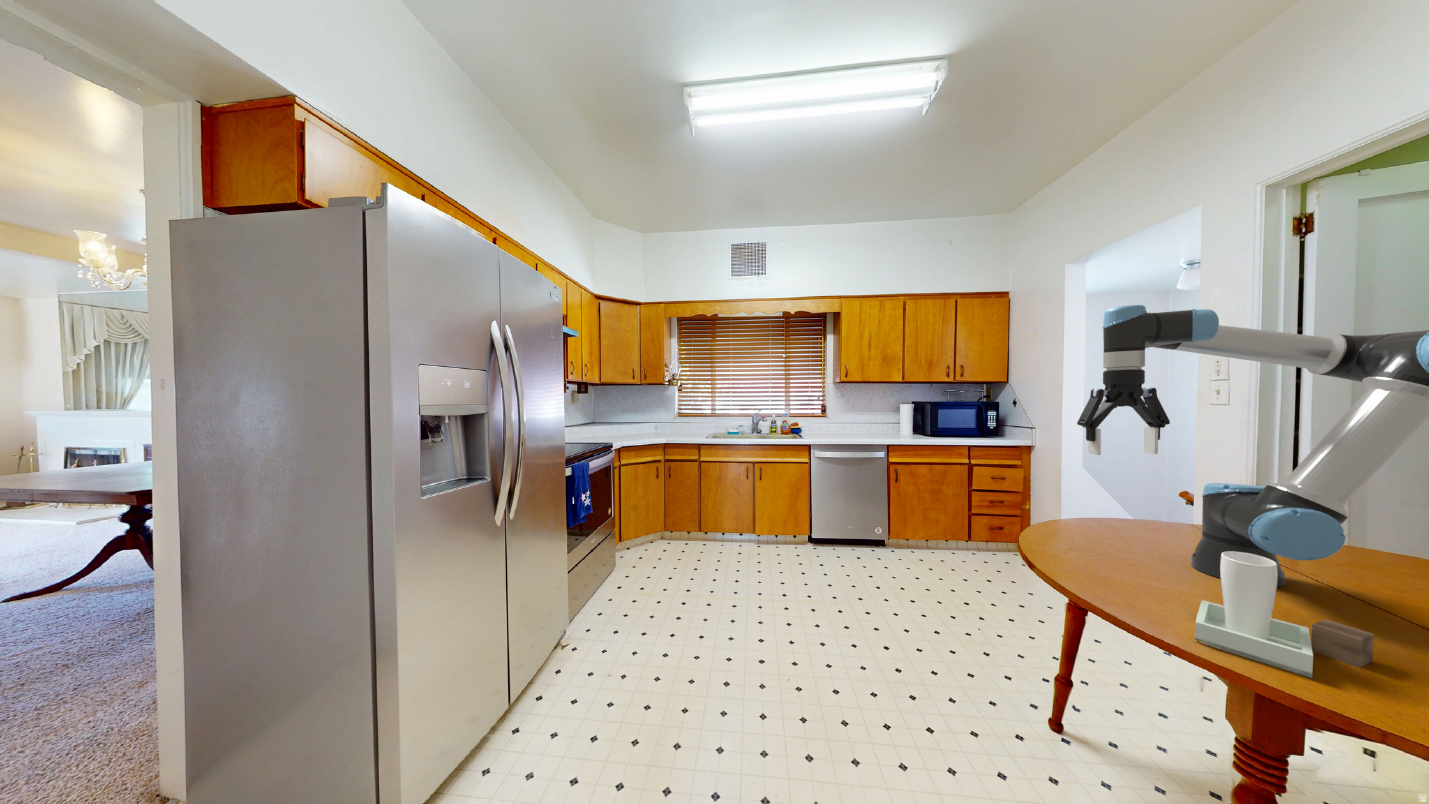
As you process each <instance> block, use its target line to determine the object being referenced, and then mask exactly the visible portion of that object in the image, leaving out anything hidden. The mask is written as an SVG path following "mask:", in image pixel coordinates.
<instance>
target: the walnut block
mask: <svg viewBox="0 0 1429 804" xmlns="http://www.w3.org/2000/svg"><path fill="white" fill-rule="evenodd" d="M1374 636H1375V634H1374V633H1371V632H1368V631H1366V630H1362V629H1358V628H1356V627H1352V626H1349V625H1346V624H1342V623H1340V622H1336V621H1333V620H1329V619H1326V618H1325V619H1322V620H1320V621H1317V622H1315V623H1312V624H1311V646H1312V652H1313V653H1317V654H1319V655H1323V656H1325V657H1328V658H1331V659H1333V660H1335V661H1336V660H1337V661H1339V662H1342V663H1345V664H1347V665H1351V666H1352V667H1353V666H1354V667H1357V668H1359V669H1360V668H1361V667H1364V666H1366V665H1368V664H1370V663H1372V662H1373V658H1374Z"/></svg>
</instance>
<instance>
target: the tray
mask: <svg viewBox="0 0 1429 804" xmlns="http://www.w3.org/2000/svg"><path fill="white" fill-rule="evenodd" d="M1195 640H1197V641H1199V642H1203V643H1204V644H1203V645H1205V644H1206V645H1205V646H1208V645H1210V646H1209V647H1211V646H1212V647H1211V648H1214V647H1216V648H1215V649H1217V648H1218V650H1220V649H1222V650H1221V651H1223V652H1227V653H1230V654H1234V655H1237V656H1240V657H1243V658H1247V659H1249V660H1253V661H1256V662H1259V663H1263V664H1266V665H1268V666H1272V667H1276V668H1278V669H1282V670H1285V671H1288V672H1291V673H1293V674H1294V673H1295V674H1298V675H1301V676H1304V677H1307V678H1309V679H1313V670H1314V669H1313V667H1314V651H1312V646H1311V641H1312V638H1311V633H1310V628H1309V627H1307V626H1305V625H1299V624H1295V623H1292V622H1287V621H1286V620H1285V621H1283V620H1280V619H1276V618H1274V617H1273V618H1271V624H1270V635H1269V639H1268V640H1263V639H1260V638H1256V637H1253V636H1249V635H1246V634H1242V633H1239V632H1235V631H1232V630H1228V629H1226V627H1225V613H1224V604H1223V605H1222V604H1219V603H1216V602H1215V603H1214V602H1211V601H1206V600H1204V599H1203V600H1202V599H1201V601H1200V604H1199V608H1198V611H1197V615H1196V619H1195V622H1194V641H1195Z"/></svg>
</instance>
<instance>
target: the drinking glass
mask: <svg viewBox="0 0 1429 804" xmlns="http://www.w3.org/2000/svg"><path fill="white" fill-rule="evenodd" d="M1220 576H1221V578H1220V585H1221V593H1222V603H1223V606H1224V613H1225V627H1226V629H1228V630H1232V631H1235V632H1239V633H1242V634H1246V635H1249V636H1253V637H1256V638H1260V639H1263V640H1268V639H1269V635H1270V624H1271V618H1272V617H1273V611H1274V607H1275V606H1274V605H1275V599H1276V594H1277V589H1278V587H1277V579H1278V573H1277V563H1276V562H1274V561H1272V560H1270V559H1268V558H1265V557H1262V556H1258V555H1254V554H1249V553H1243V552H1234V551H1227V552H1223V553H1221V562H1220Z"/></svg>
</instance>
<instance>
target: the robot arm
mask: <svg viewBox="0 0 1429 804" xmlns="http://www.w3.org/2000/svg"><path fill="white" fill-rule="evenodd" d="M1219 320H1220V319H1219V317H1218V314H1217V313H1216V312H1215V311H1214V310H1212V309H1208V308H1207V309H1206V308H1205V309H1195V308H1193V309H1187V310H1176V311H1175V310H1174V311H1164V312H1163V311H1162V312H1147V309H1146V306H1145V305H1143V304H1131V305H1130V304H1128V305H1122V306H1121V305H1120V306H1115V307H1111V308H1108V309H1107V310H1106V311H1105V312H1104V315H1103V324H1102V330H1103V331H1102V333H1103V340H1102V341H1103V353H1102V355H1103V356H1102V357H1103V361H1102V363H1103V364H1102V368H1103V369H1106V370H1103V372H1102V384H1103V385H1104V386H1105V387H1104V389H1103V388H1092V389H1091V390H1090V397H1089V398H1088V401H1087V402H1086V405H1085V406H1084V409H1083V411H1082V413H1081V414H1080V417H1079V418H1078V419H1077V423H1076V424H1077V425H1078V426H1080V427H1081V426H1082V427H1083V428H1085V440H1086V441H1087V442H1088V443H1087V444H1088V448H1087V449H1088V451H1087V452H1088V454H1089V455H1095V456H1101V453H1102V447H1101V446H1102V445H1101V444H1102V439H1101V438H1102V429H1101V428H1098V427H1099V426H1101V424H1102V422H1104V420H1105V419H1106V418H1107V417H1108V416H1109V415H1110V414H1111V412H1112V411H1113V410H1115V409H1116V408H1117V407H1130V408H1132V409H1133V410H1134V411H1135V413H1136V414H1137V415H1138V417H1140V418H1141V419H1142V421H1144V423H1145V424H1146V425H1147V426H1144V427H1143V428H1144V431H1143V432H1144V433H1143V435H1144V436H1143V453H1146V454H1153V455H1158V454H1159V451H1158V450H1159V441H1160V439H1161V428H1162V429H1164V428H1165V427H1166V425H1170V424H1171V421H1170V418H1169V417H1168V414H1167V413H1166V411H1165V409H1164V407H1163V405H1162V403H1161V401H1160V399H1159V398H1158V393H1157V392H1158V391H1157V388H1156V387H1143V385H1144V384H1145V383H1146V382H1145V381H1146V371H1145V369H1142V368H1144V367H1146V349H1148V348H1155V349H1156V348H1157V349H1163V350H1172V351H1179V352H1187V353H1192V354H1193V353H1194V354H1203V355H1209V356H1215V357H1222V358H1231V359H1237V360H1244V361H1252V362H1258V363H1266V364H1273V365H1281V366H1285V367H1286V366H1287V367H1288V366H1289V367H1295V368H1300V369H1306V370H1307V371H1308V372H1309V373H1311V374H1313V375H1319V376H1327V377H1332V378H1339V379H1344V380H1349V381H1353V382H1360V383H1363V385H1364V387H1365V388H1366V391H1365V392H1364V393H1363V394H1362V395H1361V396H1360V397H1359V398H1358V400H1357V401H1356V402H1355V403H1354V404H1353V405H1352V406H1351V407H1350V408H1349V410H1347V411H1346V413H1345V414H1344V415H1343V416H1342V417H1341V418H1340V419H1339V421H1337V423H1336V424H1335V425H1334V426H1333V427H1332V428H1331V429H1330V430H1329V432H1328V433H1326V435H1324V437H1323V438H1322V439H1321V440H1320V441H1319V442H1318V444H1317V445H1315V447H1314V448H1312V450H1311V451H1310V452H1309V453H1308V454H1307V456H1306V457H1305V458H1303V460H1302V461H1301V462H1300V463H1299V464H1298V465H1297V466H1296V468H1295V469H1294V470H1292V471H1291V473H1290V474H1289V475H1288V476H1287V477H1286V478H1285V480H1283V481H1282V482H1275V483H1267V485H1265V486H1264V485H1263V486H1261V485H1252V484H1250V485H1249V484H1238V483H1221V482H1210V483H1206V484H1205V485H1204V486H1203V492H1202V495H1201V498H1202V517H1201V519H1202V521H1201V524H1202V525H1201V528H1202V529H1201V539H1200V540H1199V542H1198V544H1197V546H1196V547H1195V549H1194V553H1192V554H1191V557H1190V565H1191V566H1192V568H1194V569H1196V570H1197V571H1200V572H1201V573H1203V574H1207V575H1209V576H1211V577H1215V578H1218V579H1221V576H1220V562H1221V553H1223V552H1227V551H1234V552H1243V553H1249V554H1254V555H1258V556H1262V557H1265V558H1268V559H1270V560H1272V561H1274V562H1276V563H1277V573H1278V579H1277V588H1282V587H1284V586H1285V585H1286V575H1285V572H1284V571H1283V570H1282V567H1281V565H1280V560H1279V559H1278V556H1279V557H1282V558H1285V559H1289V560H1294V561H1317V560H1322V559H1326V558H1328V557H1331V556H1333V555H1335V554H1336V553H1338V552H1339V551H1340V549H1342V548H1343V546H1344V545H1345V542H1346V535H1345V534H1344V533H1345V529H1344V527H1343V526H1342V524H1344V523H1345V522H1346V521H1347V519H1348V518H1349V517H1350V515H1349V514H1348V512H1347V510H1346V508H1345V505H1346V504H1347V503H1348V502H1349V501H1350V500H1351V499H1352V498H1353V497H1354V496H1355V495H1356V494H1357V493H1358V492H1359V490H1361V489H1362V487H1364V485H1365V484H1366V483H1367V482H1368V481H1370V479H1371V478H1372V477H1373V476H1374V475H1375V474H1376V473H1377V472H1378V471H1379V470H1380V469H1382V467H1383V466H1384V465H1385V464H1386V463H1387V462H1388V461H1389V460H1390V459H1391V458H1392V457H1393V456H1394V454H1395V453H1397V452H1398V451H1399V449H1400V448H1401V447H1402V446H1403V445H1404V444H1406V442H1407V441H1408V440H1409V439H1411V437H1412V436H1413V435H1414V434H1415V433H1416V432H1417V431H1418V430H1419V429H1420V428H1421V427H1422V426H1423V425H1424V424H1425V423H1426V422H1427V421H1428V420H1429V330H1428V329H1427V330H1417V331H1416V330H1415V331H1407V332H1406V331H1405V332H1393V333H1386V334H1385V333H1382V334H1369V335H1365V334H1364V335H1362V334H1361V335H1355V334H1354V335H1352V334H1350V335H1349V334H1339V333H1330V334H1326V335H1324V336H1317V335H1316V336H1315V335H1307V334H1301V333H1300V334H1299V333H1291V332H1281V331H1274V330H1266V329H1255V328H1246V327H1238V326H1229V325H1222V324H1220V321H1219Z"/></svg>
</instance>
